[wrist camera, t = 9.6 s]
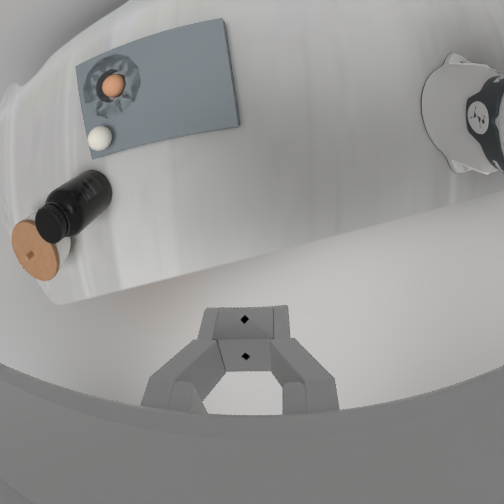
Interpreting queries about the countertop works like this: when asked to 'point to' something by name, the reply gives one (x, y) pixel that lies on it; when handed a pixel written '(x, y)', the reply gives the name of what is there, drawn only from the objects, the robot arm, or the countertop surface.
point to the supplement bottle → (73, 206)
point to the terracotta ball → (114, 85)
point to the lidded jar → (38, 250)
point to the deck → (162, 87)
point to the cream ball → (99, 138)
